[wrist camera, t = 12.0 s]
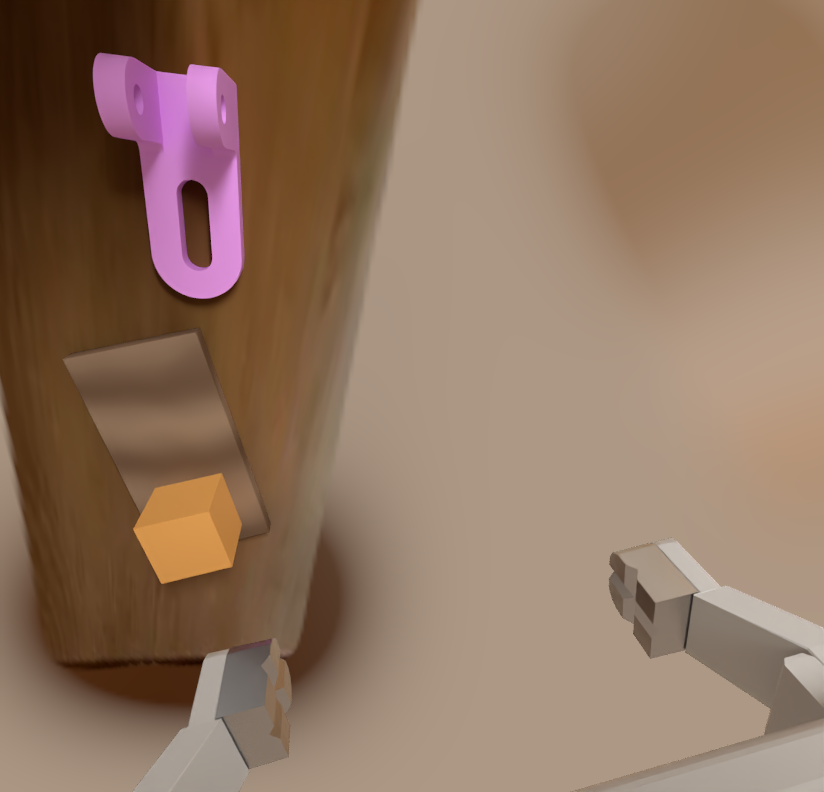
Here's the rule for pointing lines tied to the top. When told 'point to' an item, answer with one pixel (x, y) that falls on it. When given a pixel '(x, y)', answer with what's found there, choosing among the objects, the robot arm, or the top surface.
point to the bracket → (180, 161)
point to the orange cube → (189, 528)
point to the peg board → (167, 419)
